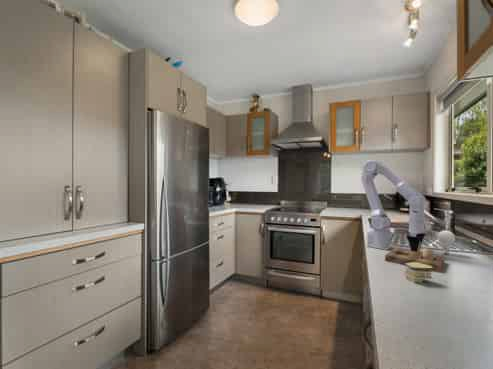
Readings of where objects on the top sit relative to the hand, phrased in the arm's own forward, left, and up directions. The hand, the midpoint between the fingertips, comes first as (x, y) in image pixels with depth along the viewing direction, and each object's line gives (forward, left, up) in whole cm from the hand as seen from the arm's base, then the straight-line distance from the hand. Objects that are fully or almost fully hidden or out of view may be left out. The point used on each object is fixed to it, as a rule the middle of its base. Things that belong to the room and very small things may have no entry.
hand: (415, 250), depth 115 cm
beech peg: (0, 0, -2) cm, 2 cm away
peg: (+6, -14, -2) cm, 16 cm away
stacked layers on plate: (+7, -37, -2) cm, 38 cm away
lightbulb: (+10, +11, -2) cm, 15 cm away
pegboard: (+2, -14, -2) cm, 14 cm away
